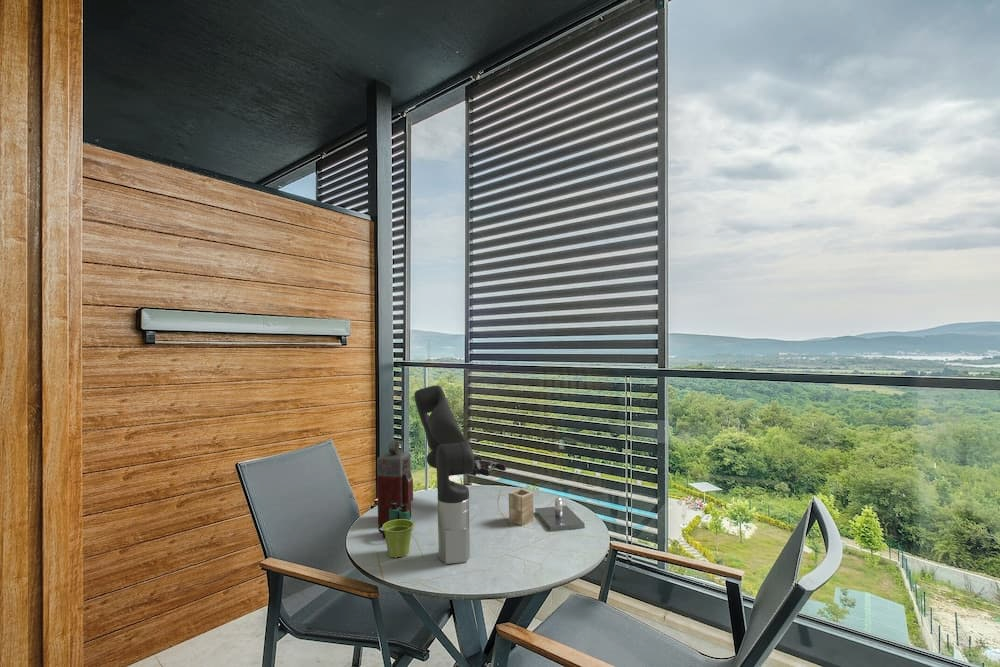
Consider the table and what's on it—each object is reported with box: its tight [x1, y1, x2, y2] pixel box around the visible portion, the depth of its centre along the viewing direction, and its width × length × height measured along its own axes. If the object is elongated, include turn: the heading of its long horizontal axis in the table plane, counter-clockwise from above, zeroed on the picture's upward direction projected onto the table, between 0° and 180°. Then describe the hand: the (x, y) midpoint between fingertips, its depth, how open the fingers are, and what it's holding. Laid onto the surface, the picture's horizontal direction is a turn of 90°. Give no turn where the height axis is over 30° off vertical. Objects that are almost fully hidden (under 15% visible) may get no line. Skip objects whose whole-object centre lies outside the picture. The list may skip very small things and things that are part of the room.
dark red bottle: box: [376, 440, 414, 526], centre depth 176 cm, size 9×11×28 cm
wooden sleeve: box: [508, 488, 535, 526], centre depth 174 cm, size 6×6×10 cm
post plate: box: [534, 496, 586, 532], centre depth 174 cm, size 18×12×8 cm, turn 12°
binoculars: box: [377, 501, 411, 539], centre depth 162 cm, size 9×11×10 cm
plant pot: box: [381, 519, 415, 559], centre depth 149 cm, size 9×9×9 cm
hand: (497, 470), depth 181 cm, fingers open, 8 cm apart
